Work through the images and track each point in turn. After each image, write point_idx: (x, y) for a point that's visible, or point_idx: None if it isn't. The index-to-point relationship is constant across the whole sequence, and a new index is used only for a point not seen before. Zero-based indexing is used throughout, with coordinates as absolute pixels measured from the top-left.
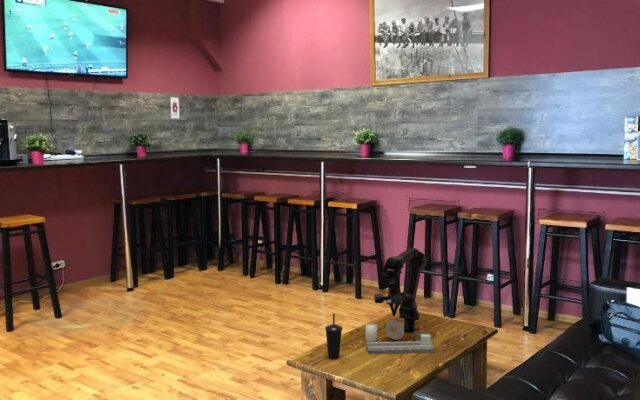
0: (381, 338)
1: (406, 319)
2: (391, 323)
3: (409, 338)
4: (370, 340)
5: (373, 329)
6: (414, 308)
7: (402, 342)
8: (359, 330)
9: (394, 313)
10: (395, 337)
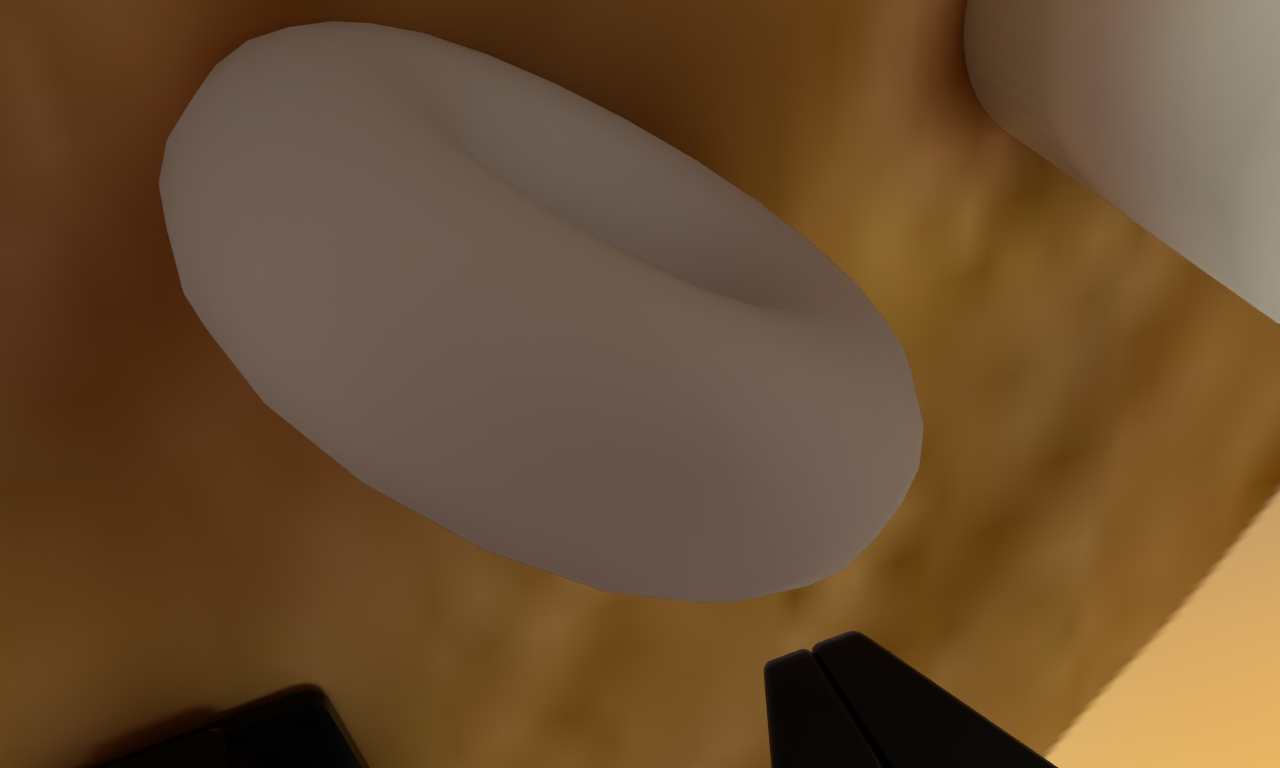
0: (852, 154)
1: None
2: (781, 335)
3: (79, 370)
4: None
5: None
6: None
7: None
8: (1253, 472)
9: (857, 758)
10: (475, 54)
